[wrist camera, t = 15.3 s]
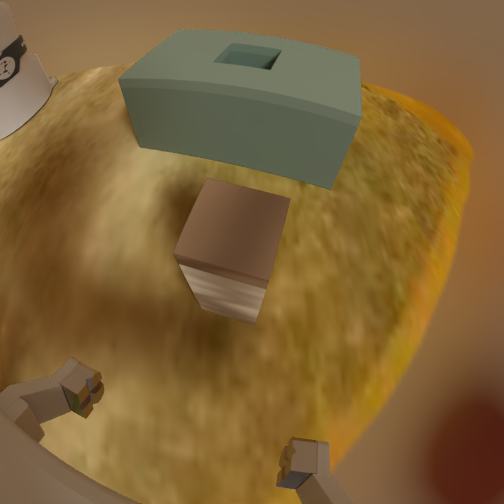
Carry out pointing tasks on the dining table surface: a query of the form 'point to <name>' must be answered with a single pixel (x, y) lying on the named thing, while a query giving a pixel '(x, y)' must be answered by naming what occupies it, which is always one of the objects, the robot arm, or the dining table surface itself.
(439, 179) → the dining table surface
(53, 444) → the dining table surface
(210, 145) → the box with square hole
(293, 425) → the dining table surface
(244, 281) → the wooden block
